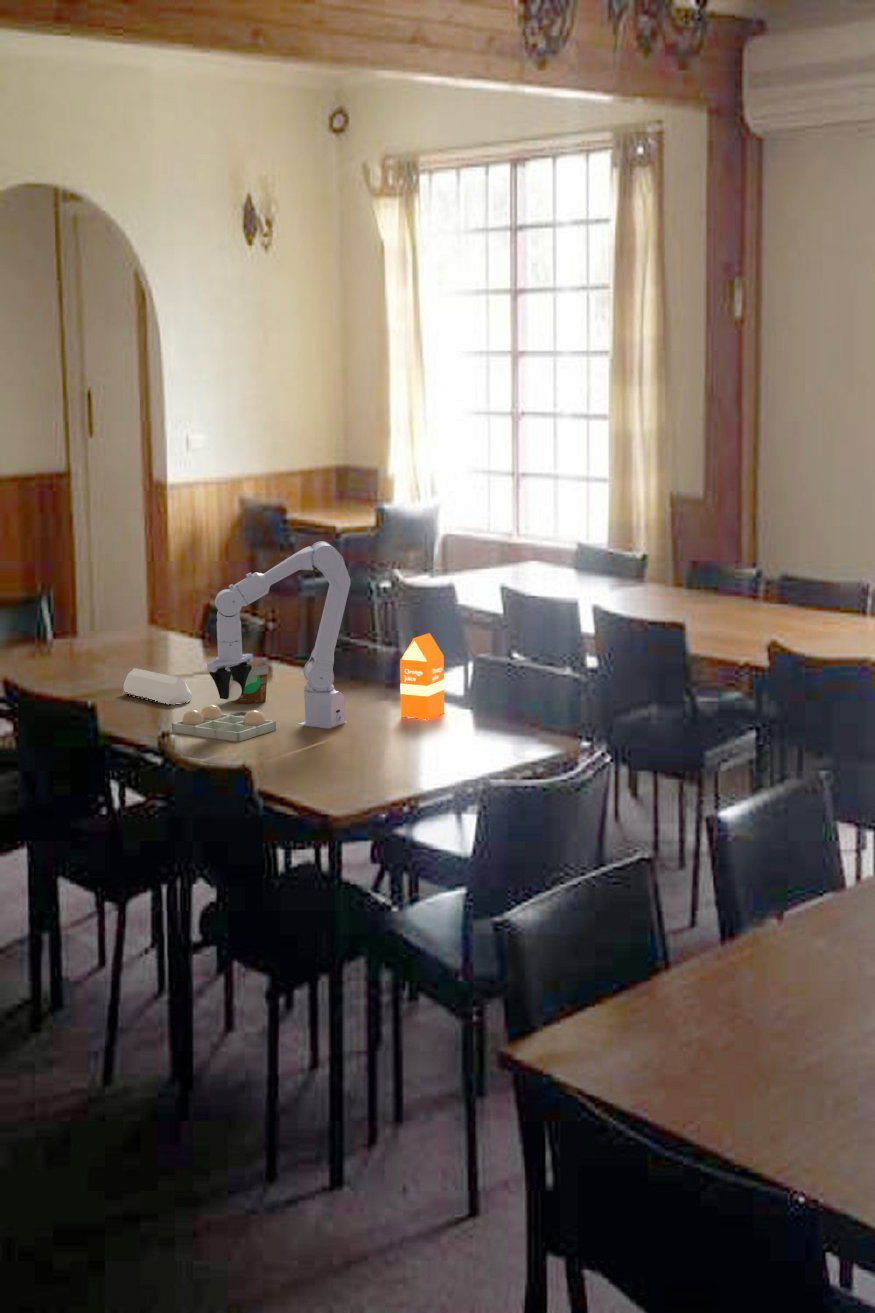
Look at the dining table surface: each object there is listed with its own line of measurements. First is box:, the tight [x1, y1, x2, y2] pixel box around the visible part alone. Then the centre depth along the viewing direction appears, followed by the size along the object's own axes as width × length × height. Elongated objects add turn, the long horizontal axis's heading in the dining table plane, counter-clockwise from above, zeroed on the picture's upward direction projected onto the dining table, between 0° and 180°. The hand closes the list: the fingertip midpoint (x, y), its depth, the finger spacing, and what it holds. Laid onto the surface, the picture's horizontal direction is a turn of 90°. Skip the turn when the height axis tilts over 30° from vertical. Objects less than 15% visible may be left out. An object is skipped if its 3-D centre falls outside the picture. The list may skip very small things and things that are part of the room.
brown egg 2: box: [201, 703, 223, 720], centre depth 397 cm, size 5×5×5 cm
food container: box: [225, 665, 270, 705], centre depth 422 cm, size 12×6×10 cm, turn 62°
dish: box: [229, 711, 248, 716], centre depth 404 cm, size 7×7×1 cm
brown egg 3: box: [243, 709, 266, 727], centre depth 390 cm, size 5×5×5 cm
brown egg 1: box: [182, 709, 204, 726], centre depth 391 cm, size 5×5×5 cm
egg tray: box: [171, 713, 277, 743], centre depth 391 cm, size 20×14×3 cm
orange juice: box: [399, 632, 445, 721], centre depth 405 cm, size 8×9×20 cm
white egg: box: [225, 680, 242, 702], centre depth 392 cm, size 5×5×5 cm
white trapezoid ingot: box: [122, 668, 193, 705], centre depth 431 cm, size 7×7×24 cm
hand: (231, 696), depth 392 cm, fingers closed on white egg, 5 cm apart
